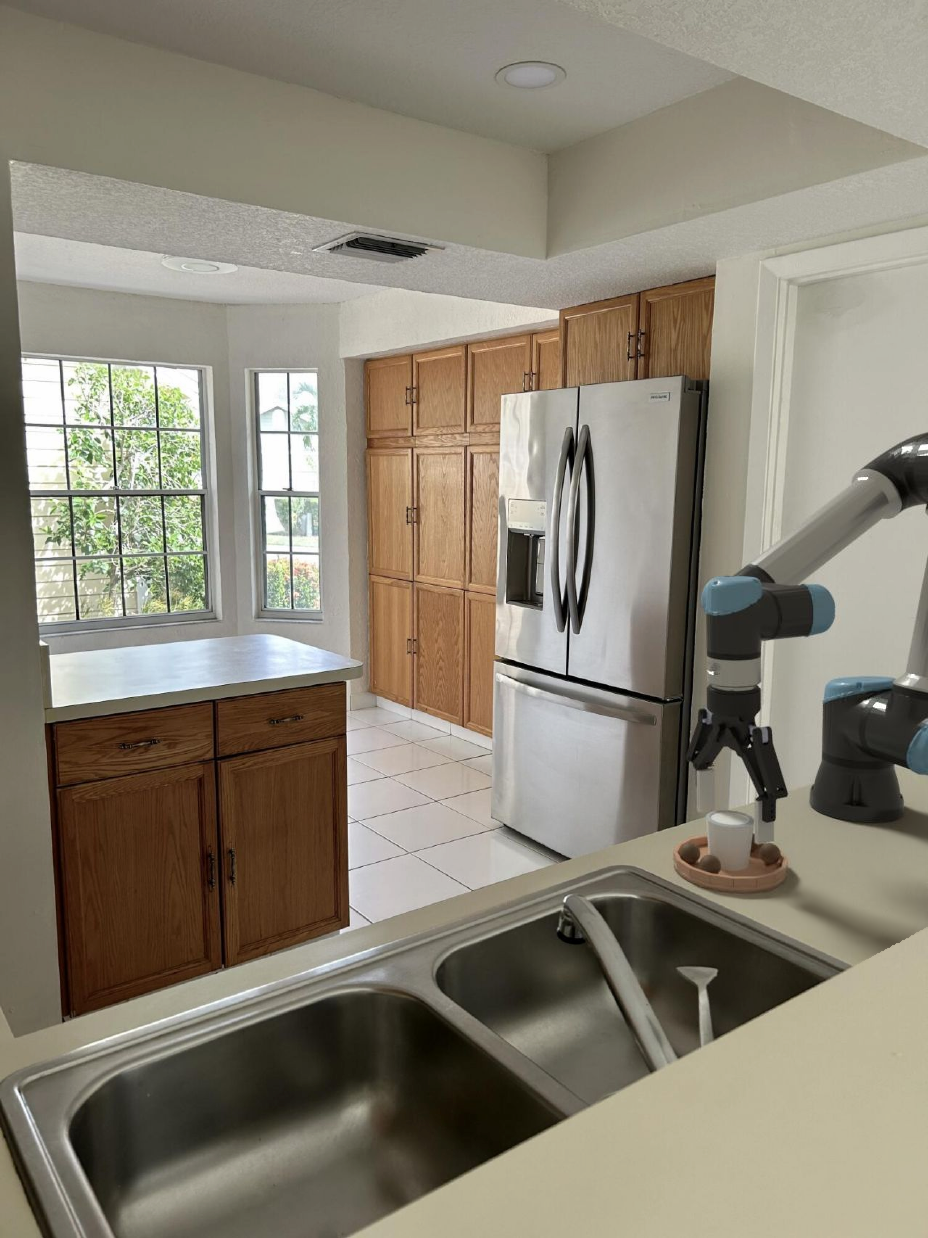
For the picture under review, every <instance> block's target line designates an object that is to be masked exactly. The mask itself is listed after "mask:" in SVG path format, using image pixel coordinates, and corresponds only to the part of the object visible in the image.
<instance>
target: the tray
mask: <svg viewBox="0 0 928 1238" xmlns="http://www.w3.org/2000/svg"><path fill="white" fill-rule="evenodd" d="M685 843H694V844H695V845H697V846H698V848H699V849H700V858H699V860H698V861H697V862H695V863H691V864H690V863H686V862H684V861H683V860H682V859H681V857H680V848H681V847H682V845H684V844H685ZM764 844H766V843H762V844H759V845H758V847H757V849H756V850H754V851H752V852H750V859H749V865H748V867H747V868H746V869H744V870H739V871H728V870H722V869H720V872H719V873H718V874H712V873H709V872H706V871H703V870H700V867H699V863H700V860H701V858H702V857H704V856H705V855H709V852H708V839H707V834H704V835H698V836H693V837H692V836H691V837H689V838H686V839H684V840H681V841H680V842H678V843H676V846H675V847H674V849H673V852H672V854H673V855H672V860H673V863H674V864H673V867H674V871H675V872H676V873H677V874H678V875H679V877H681V878H683V880H685V881H687V882H689V883H691V884H693V885H694V886H695V885H696V886H698V887H701V888H705V889H706V890H712V891H717V892H721V893H732V894H754V893H763V892H767V891H771V890H774V889H776V888H778V887H780V886H782V885H783V884H784V883H785V882H786V880H787V876H788V866H789V864H788V863H789V858H788V857H787V856H786V855H785V853H784V852H783V851H782V850H780V849H779V850H780V852H781V857H780V859H779V861H778V862H776V863H774V864H767V863H765V862H764V861H762V859H761V858H760V855H759V851H760V848H761V847H762V846H763V845H764Z"/></svg>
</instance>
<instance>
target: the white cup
mask: <svg viewBox="0 0 928 1238" xmlns="http://www.w3.org/2000/svg"><path fill="white" fill-rule="evenodd" d="M705 824H706V835H707V839H708V852H709V855H713V856H715V857H717V858H718V859H719V861H720V863H721V869H722V870H728V871H739V870H744V869H746V868H747V867H748V865H749V859H750V851H751V843H752V835H753V833H754V828H755V818H753V816H751V815H750V814H747V813H745V812H741V811H738V810H736V811H735V810H727V809H726V810H723V809H722V810H716V811H715V810H713V811H710V812H709V813H707V814H706V816H705Z"/></svg>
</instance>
